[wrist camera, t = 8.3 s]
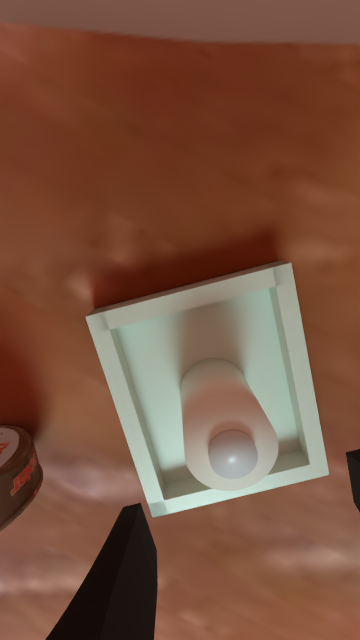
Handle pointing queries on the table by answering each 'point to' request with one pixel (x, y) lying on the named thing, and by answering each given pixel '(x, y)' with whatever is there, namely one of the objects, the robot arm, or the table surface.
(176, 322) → the trough tray
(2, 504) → the tin
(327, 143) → the table surface
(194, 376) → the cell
